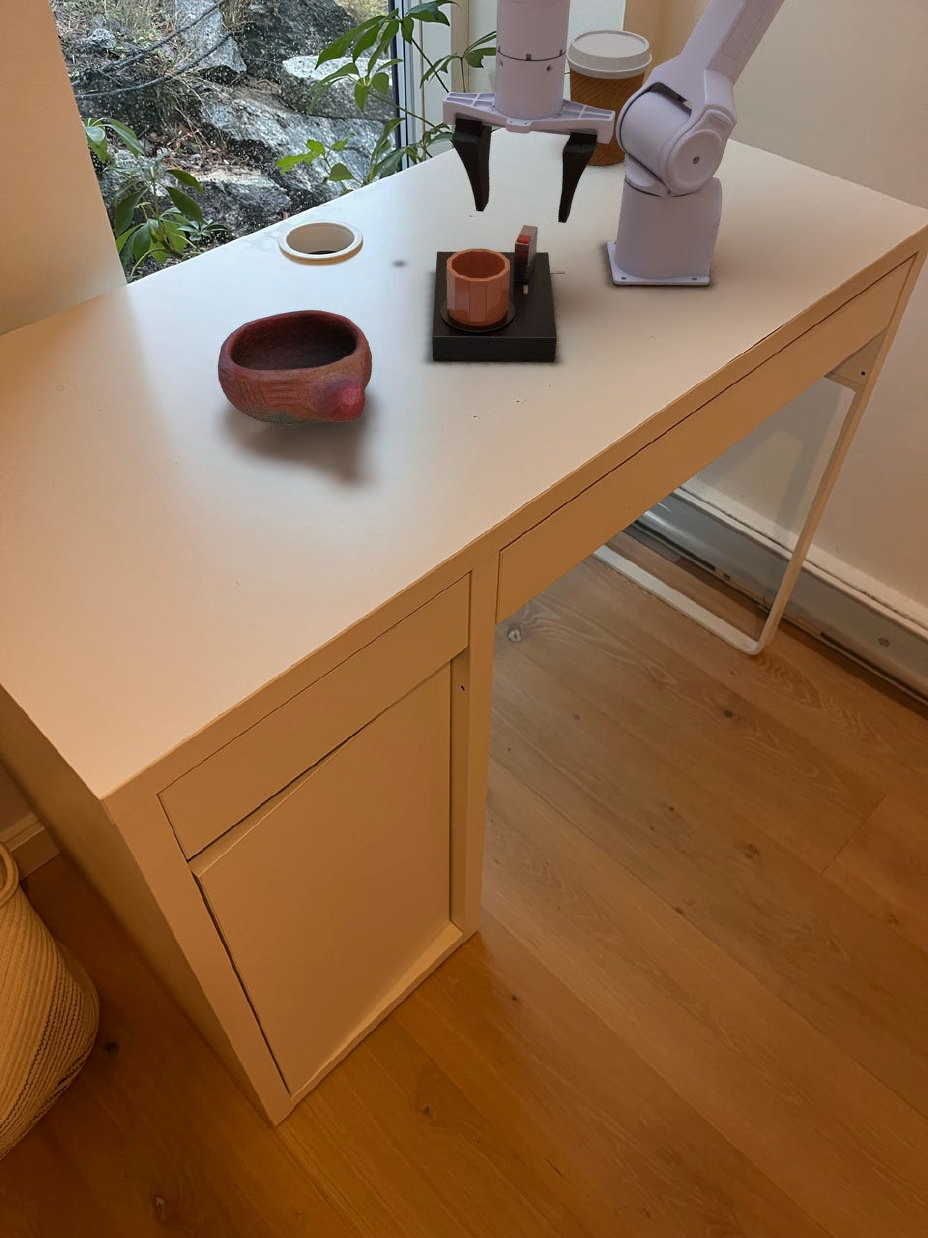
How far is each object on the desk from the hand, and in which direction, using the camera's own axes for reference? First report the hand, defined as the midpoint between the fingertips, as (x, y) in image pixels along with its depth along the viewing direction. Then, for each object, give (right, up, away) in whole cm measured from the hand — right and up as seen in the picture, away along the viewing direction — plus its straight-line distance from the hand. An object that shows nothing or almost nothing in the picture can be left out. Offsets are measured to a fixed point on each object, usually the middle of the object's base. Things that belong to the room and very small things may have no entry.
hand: (522, 211), depth 89 cm
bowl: (-18, -20, -6) cm, 27 cm away
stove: (-3, -8, +4) cm, 10 cm away
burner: (-4, -9, 0) cm, 10 cm away
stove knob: (0, -4, +4) cm, 6 cm away
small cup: (-4, -9, 0) cm, 10 cm away
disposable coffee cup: (+11, +18, +27) cm, 35 cm away
